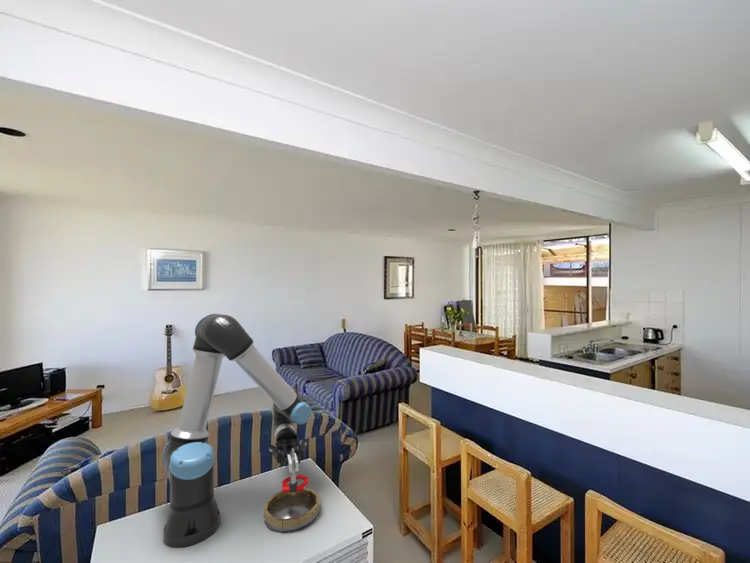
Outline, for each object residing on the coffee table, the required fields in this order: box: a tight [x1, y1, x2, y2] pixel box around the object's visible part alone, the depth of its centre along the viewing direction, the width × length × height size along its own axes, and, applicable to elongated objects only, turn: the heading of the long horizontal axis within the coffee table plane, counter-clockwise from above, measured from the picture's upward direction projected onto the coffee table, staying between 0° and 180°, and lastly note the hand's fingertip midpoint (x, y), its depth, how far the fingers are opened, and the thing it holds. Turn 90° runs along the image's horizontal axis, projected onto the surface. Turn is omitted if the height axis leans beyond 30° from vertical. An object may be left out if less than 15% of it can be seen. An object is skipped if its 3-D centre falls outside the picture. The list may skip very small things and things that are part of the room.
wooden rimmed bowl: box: [262, 487, 321, 534], centre depth 108 cm, size 17×17×4 cm
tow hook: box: [281, 448, 310, 493], centre depth 109 cm, size 8×13×9 cm
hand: (294, 467), depth 103 cm, fingers closed on tow hook
